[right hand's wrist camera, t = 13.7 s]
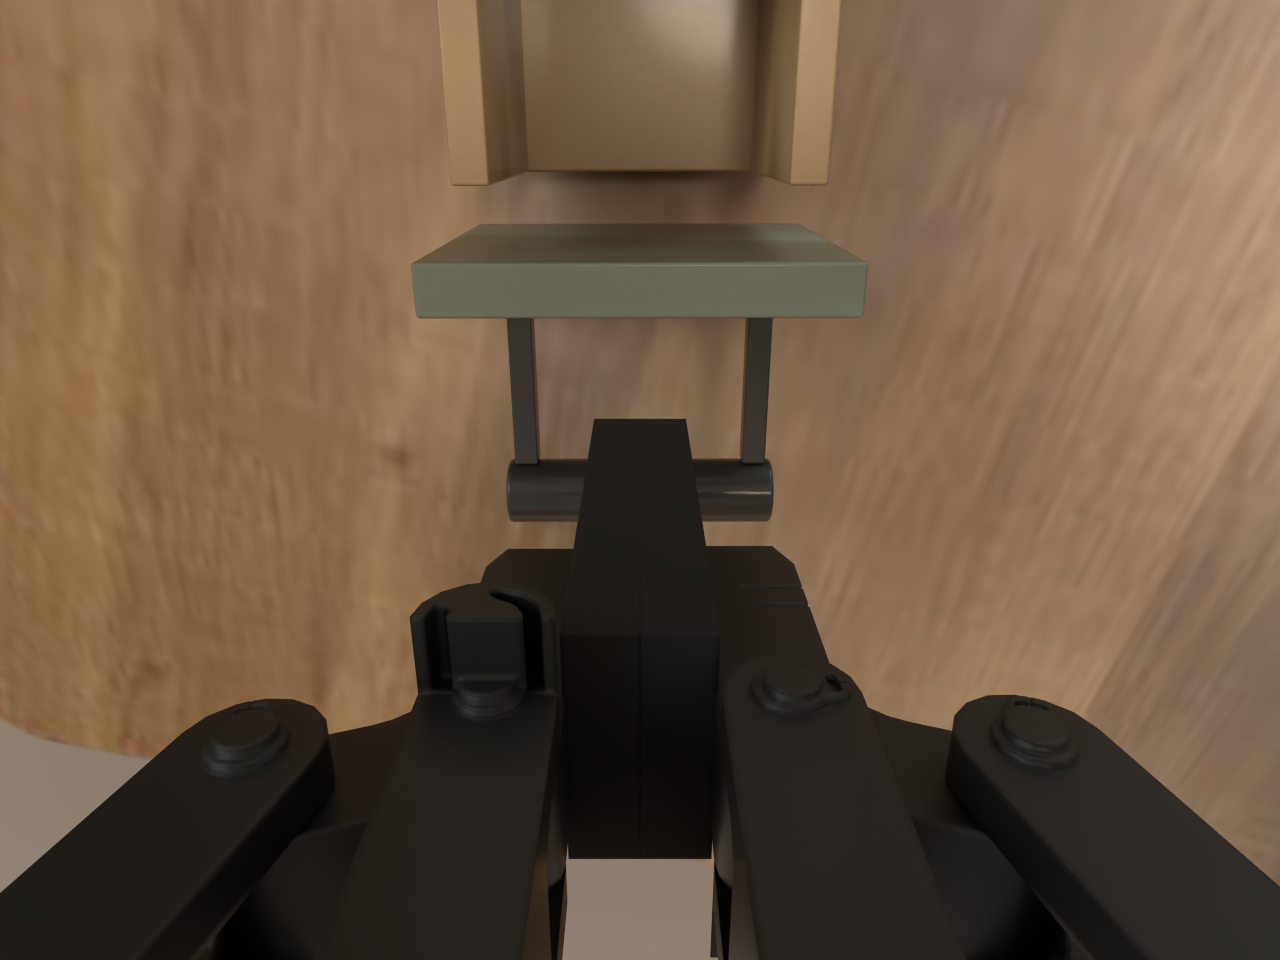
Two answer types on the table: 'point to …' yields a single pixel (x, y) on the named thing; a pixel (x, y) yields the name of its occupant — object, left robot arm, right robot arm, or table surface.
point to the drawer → (639, 142)
